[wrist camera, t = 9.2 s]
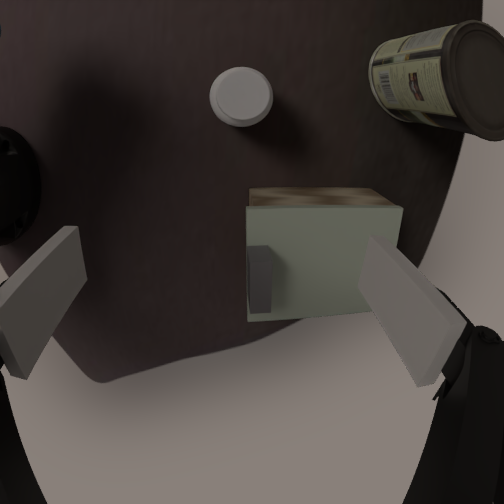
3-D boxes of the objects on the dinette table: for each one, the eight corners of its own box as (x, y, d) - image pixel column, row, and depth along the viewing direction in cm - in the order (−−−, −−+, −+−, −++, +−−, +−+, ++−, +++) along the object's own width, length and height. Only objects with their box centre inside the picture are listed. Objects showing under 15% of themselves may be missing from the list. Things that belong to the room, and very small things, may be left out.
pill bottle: (269, 118, 30) (285, 122, 22) (218, 129, 30) (216, 137, 22) (258, 69, 27) (271, 56, 20) (206, 80, 28) (200, 70, 20)
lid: (247, 316, 32) (250, 342, 28) (245, 206, 26) (249, 222, 23) (378, 305, 33) (392, 326, 29) (399, 205, 27) (419, 219, 24)
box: (249, 277, 38) (254, 312, 32) (248, 187, 33) (255, 208, 27) (358, 271, 39) (380, 302, 33) (370, 188, 34) (399, 207, 28)
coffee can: (452, 89, 29) (536, 99, 16) (405, 139, 32) (488, 166, 19) (403, 23, 25) (484, 1, 13) (349, 71, 28) (425, 59, 15)
